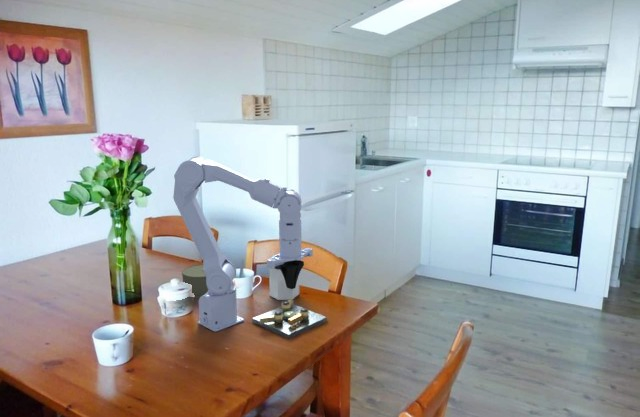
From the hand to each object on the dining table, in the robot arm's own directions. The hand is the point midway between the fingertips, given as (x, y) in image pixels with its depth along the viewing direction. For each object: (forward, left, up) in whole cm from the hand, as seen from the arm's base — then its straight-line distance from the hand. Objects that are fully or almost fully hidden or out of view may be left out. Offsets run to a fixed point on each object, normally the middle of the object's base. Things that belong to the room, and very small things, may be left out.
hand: (291, 287), depth 134 cm
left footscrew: (-6, +1, -8) cm, 10 cm away
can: (-4, +36, -10) cm, 37 cm away
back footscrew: (+3, +5, -8) cm, 10 cm away
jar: (+11, +15, -10) cm, 21 cm away
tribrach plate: (-1, 0, -10) cm, 10 cm away
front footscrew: (-1, -4, -8) cm, 9 cm away
